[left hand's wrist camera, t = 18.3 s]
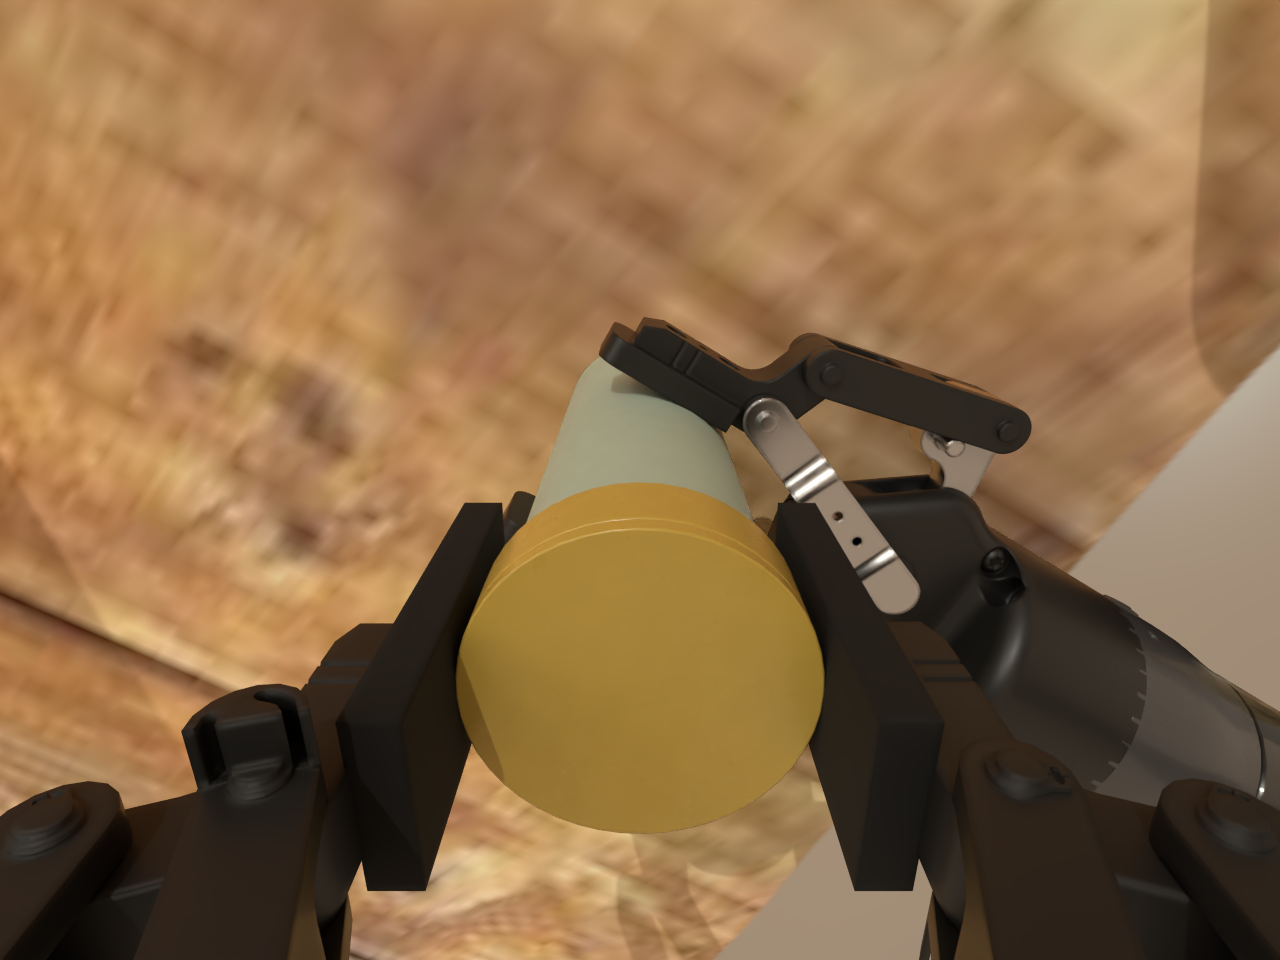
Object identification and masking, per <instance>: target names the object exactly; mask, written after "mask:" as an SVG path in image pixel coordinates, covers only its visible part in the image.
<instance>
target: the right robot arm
mask: <svg viewBox="0 0 1280 960" xmlns="http://www.w3.org/2000/svg"><path fill="white" fill-rule="evenodd" d="M599 355H600V357H601V358H602V359H603V360H604V361H606V362H607V363H608V364H610V365H611V366H613V367H615V368H616V369H618V370H620V371H621V372H623V373H625V374H626V375H628V376H630V377H632V378H633V379H635V380H637V381H638V382H640V383H642V384H643V385H645V386H647V387H649V388H650V389H652V390H654V391H655V392H657V393H659V394H660V395H662V396H664V397H666V398H667V399H669V400H671V401H672V402H674V403H676V404H678V405H679V406H681V407H683V408H685V409H687V410H689V411H690V412H692V413H694V414H695V415H697V416H698V417H700V418H701V419H703V420H705V421H706V422H708V423H710V424H712V425H713V426H715V427H717V428H718V429H720V430H722V431H723V432H725V433H726V432H727V430H728V429H729V427H730V426H731V425H733V426H735V427H736V428H738V429H740V430H742V431H743V432H745V434H746V435H747V437H748V438H749V439H750V441H751V442H752V443H753V444H754V446H755V447H756V448H757V450H758V451H759V452H760V453H761V455H762V456H763V457H764V459H765V460H766V461H767V462H768V464H769V465H770V466H771V468H772V469H773V470H774V471H775V473H776V474H777V475H778V476H779V478H780V479H781V480H782V482H783V483H784V484H785V486H786V487H787V489H788V490H789V492H790V494H789V496H788V497H787V498H786V500H785V501H784V503H816V505H817V506H818V508H819V510H820V512H821V513H822V515H823V517H824V518H825V520H826V522H827V523H828V525H829V527H830V528H831V530H832V532H833V534H834V535H835V537H836V539H837V540H838V542H839V544H840V545H841V547H842V549H843V550H844V552H845V554H846V556H847V557H848V559H849V561H850V562H851V564H852V566H853V567H854V569H855V571H856V572H857V574H858V576H859V578H860V579H861V581H862V583H863V584H864V586H865V588H866V589H867V591H868V593H869V594H870V596H871V598H872V600H873V601H874V603H875V605H876V606H877V608H878V610H879V611H880V613H881V615H882V616H883V618H884V620H885V621H920V622H922V623H923V624H925V625H926V626H927V627H929V628H930V629H932V630H933V631H934V632H936V633H937V634H939V635H940V636H941V637H943V638H944V639H945V640H946V641H947V642H948V644H949V645H950V647H951V648H952V649H953V651H954V652H955V654H956V655H957V657H958V658H959V659H960V664H963V665H964V666H965V668H966V669H967V671H968V672H969V674H970V675H971V676H972V681H973V682H976V683H977V685H978V686H979V688H980V689H981V691H982V692H983V693H984V695H985V696H986V698H987V699H988V700H989V702H990V703H991V705H992V706H993V708H994V709H995V710H996V712H997V713H998V715H999V716H1000V718H1001V719H1002V720H1003V722H1004V723H1005V725H1006V726H1007V727H1008V729H1009V730H1010V732H1011V733H1012V735H1013V736H1014V737H1015V739H1016V740H1017V741H1021V742H1024V743H1027V744H1031V745H1033V746H1035V747H1037V748H1039V749H1041V750H1043V751H1045V752H1047V753H1049V754H1051V755H1052V756H1054V757H1055V758H1057V759H1058V760H1059V761H1060V762H1061V763H1063V764H1064V765H1065V766H1066V767H1067V768H1068V769H1070V770H1071V771H1072V772H1073V774H1074V776H1075V777H1076V779H1077V780H1078V782H1079V783H1080V785H1081V786H1082V788H1083V789H1086V790H1089V791H1092V792H1096V793H1099V794H1103V795H1107V796H1111V797H1116V798H1120V799H1124V800H1129V801H1133V802H1137V803H1142V804H1146V805H1150V806H1155V807H1156V806H1157V804H1158V801H1159V798H1160V795H1161V792H1162V789H1164V788H1165V787H1166V786H1167V785H1169V784H1170V783H1171V782H1172V781H1176V780H1183V779H1191V778H1194V779H1200V780H1207V781H1213V782H1219V783H1221V784H1224V785H1227V786H1230V787H1232V788H1236V789H1238V790H1241V791H1244V792H1246V793H1248V794H1250V795H1252V796H1254V797H1255V798H1257V799H1259V800H1261V801H1263V802H1265V803H1266V804H1268V805H1270V806H1272V807H1274V808H1275V809H1276V810H1277V811H1279V812H1280V712H1279V711H1278V710H1276V709H1274V708H1273V707H1271V706H1269V705H1267V704H1266V703H1264V702H1262V701H1261V700H1259V699H1257V698H1256V697H1254V696H1253V695H1251V694H1249V693H1248V692H1246V691H1244V690H1243V689H1241V688H1239V687H1238V686H1236V685H1234V684H1233V683H1231V682H1229V681H1228V680H1226V679H1224V678H1223V677H1221V676H1219V675H1218V674H1216V673H1214V672H1213V671H1211V670H1210V669H1208V668H1207V667H1206V666H1205V665H1203V664H1202V663H1201V662H1200V661H1199V660H1198V659H1197V658H1196V657H1194V656H1193V655H1192V654H1191V653H1190V652H1189V651H1187V650H1186V649H1185V648H1184V647H1183V646H1181V645H1180V644H1179V643H1178V642H1176V641H1175V640H1174V639H1172V638H1171V637H1169V636H1168V635H1166V634H1165V633H1163V632H1162V631H1160V630H1159V629H1157V628H1156V627H1154V626H1153V625H1151V624H1149V623H1148V622H1146V621H1144V620H1143V619H1141V618H1140V617H1138V614H1136V613H1135V612H1134V611H1132V610H1131V608H1130V607H1129V606H1127V605H1125V604H1123V603H1122V602H1120V601H1118V600H1116V599H1114V598H1112V597H1109V596H1107V595H1102V594H1100V593H1098V592H1097V591H1095V590H1093V589H1092V588H1090V587H1088V586H1087V585H1085V584H1083V583H1082V582H1080V581H1079V580H1077V579H1075V578H1074V577H1072V576H1070V575H1069V574H1067V573H1065V572H1064V571H1062V570H1060V569H1059V568H1057V567H1056V566H1054V565H1052V564H1051V563H1049V562H1047V561H1046V560H1044V559H1042V558H1041V557H1039V556H1037V555H1036V554H1034V553H1032V552H1031V551H1029V550H1027V549H1026V548H1024V547H1023V546H1021V545H1019V544H1018V543H1016V542H1014V541H1013V540H1011V539H1009V538H1008V537H1006V536H1004V535H1003V534H1001V533H999V532H998V531H996V530H995V529H993V528H991V527H990V526H988V525H987V524H986V522H985V520H984V518H983V516H982V513H981V511H980V509H979V507H978V505H977V504H976V503H975V501H974V500H973V499H972V496H973V494H974V492H975V490H976V488H977V487H978V485H979V483H980V481H981V479H982V477H983V475H984V473H985V471H986V469H987V468H988V466H989V464H990V462H991V460H992V458H993V456H994V454H995V453H998V454H1007V453H1011V452H1014V451H1016V450H1017V449H1019V448H1020V447H1022V446H1023V445H1024V444H1025V442H1026V441H1027V440H1028V438H1029V436H1030V433H1031V421H1030V418H1029V417H1028V415H1027V414H1026V413H1025V412H1024V411H1022V410H1020V409H1018V408H1016V407H1015V406H1013V405H1011V404H1009V403H1007V402H1005V401H1003V400H1001V399H1000V398H998V397H996V396H994V395H992V394H990V393H988V392H987V391H985V390H983V389H981V388H979V387H977V386H974V385H971V384H968V383H965V382H962V381H959V380H956V379H953V378H950V377H947V376H944V375H941V374H938V373H935V372H932V371H929V370H926V369H922V368H919V367H916V366H913V365H910V364H907V363H904V362H901V361H898V360H895V359H892V358H889V357H886V356H883V355H880V354H877V353H874V352H871V351H868V350H865V349H862V348H859V347H856V346H853V345H850V344H847V343H843V342H840V341H837V340H834V339H831V338H828V337H825V336H822V335H819V334H816V333H806V334H803V335H801V336H799V337H797V338H796V339H795V340H794V341H793V342H792V343H791V345H790V347H789V349H788V351H787V352H786V353H784V354H783V355H782V356H781V357H779V358H778V359H777V360H775V361H774V362H773V363H771V364H770V365H768V366H766V367H764V368H761V369H755V370H750V369H745V368H742V367H740V366H738V365H736V364H735V363H733V362H731V361H730V360H728V359H726V358H725V357H723V356H722V355H720V354H718V353H717V352H715V351H713V350H712V349H710V348H708V347H707V346H705V345H704V344H702V343H700V342H699V341H697V340H695V339H694V338H692V337H690V336H689V335H687V334H686V333H683V332H682V331H681V330H679V329H677V328H676V327H674V326H672V325H671V324H669V323H668V322H666V321H664V320H658V319H652V318H646V317H644V318H643V319H642V321H641V323H640V324H639V326H638V328H637V330H636V331H633V330H631V329H630V328H628V327H626V326H624V325H622V324H620V323H617V322H614V324H613V325H612V327H611V329H610V331H609V332H608V334H607V336H606V338H605V339H604V341H603V343H602V345H601V348H600V351H599ZM824 399H828V400H831V401H834V402H837V403H840V404H844V405H847V406H850V407H853V408H856V409H859V410H862V411H866V412H869V413H872V414H875V415H878V416H881V417H884V418H888V419H891V420H894V421H897V422H900V423H903V424H906V425H910V427H909V437H910V440H911V442H912V443H913V444H914V445H915V446H916V447H917V448H918V449H919V450H920V451H922V452H923V453H924V454H925V455H926V456H927V457H929V458H930V460H931V464H932V467H931V472H930V475H914V476H902V477H890V478H878V479H866V480H854V481H842V480H841V479H840V477H839V476H838V475H837V473H836V472H835V471H834V469H833V468H832V467H831V465H830V464H829V462H828V461H827V460H826V458H825V457H824V456H823V454H822V453H821V452H820V450H819V449H818V448H817V446H816V445H815V444H814V442H813V441H812V440H811V438H810V437H809V436H808V434H807V433H806V432H805V430H804V429H803V428H802V426H801V425H800V424H799V422H798V421H797V419H798V418H800V417H801V416H802V415H804V414H805V413H807V412H808V411H809V410H811V409H812V408H813V407H815V406H816V405H817V404H819V403H820V402H821V401H823V400H824ZM534 500H535V496H534V495H532V494H529V493H527V492H523V491H518V492H516V493H515V494H514V496H513V498H512V499H511V501H510V503H509V505H508V506H507V508H506V510H505V512H504V514H503V523H504V536H505V544H507V542H508V541H509V540H510V539H511V538H512V537H513V536H514V534H515V533H516V532H517V531H518V530H519V529H520V528H521V527H522V526H524V525H525V524H526V522H527V519H528V517H529V514H530V511H531V508H532V506H533V503H534ZM776 524H777V512H776V515H775V517H774V520H773V522H772V525H771V528H770V530H769V533H768V535H767V536H768V538H769V539H770V540H771V541H772V542H773V543H774V545H775V537H776Z"/></svg>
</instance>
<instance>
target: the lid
mask: <svg viewBox="0 0 1280 960" xmlns="http://www.w3.org/2000/svg"><path fill="white" fill-rule="evenodd" d="M455 681H456V696H457V702H458V707H459V712H460V716H461V719H462V722H463V724H464V727H465V730H466V732H467V735H468V737H469V739H470V741H471V742H472V744H473V746H474V748H475V750H476V752H477V753H478V755H479V756H480V757H481V759H482V760H483V761H484V763H485V764H486V765H487V767H488V768H489V769H490V770H491V771H492V772H493V773H494V774H495V775H496V777H497V778H498V779H499V780H500V781H501V782H502V783H503V784H504V785H506V786H507V787H508V788H509V789H511V790H512V791H513V792H514V793H516V794H517V795H518V796H519V797H521V798H522V799H524V800H526V801H527V802H529V803H530V804H532V805H534V806H535V807H537V808H539V809H541V810H543V811H545V812H547V813H549V814H551V815H553V816H555V817H557V818H560V819H563V820H566V821H569V822H571V823H574V824H577V825H581V826H585V827H589V828H593V829H597V830H603V831H611V832H618V833H636V834H646V833H663V832H670V831H676V830H683V829H688V828H692V827H695V826H699V825H703V824H707V823H709V822H712V821H715V820H717V819H720V818H723V817H725V816H728V815H730V814H732V813H734V812H735V811H737V810H739V809H741V808H743V807H745V806H747V805H749V804H750V803H752V802H753V801H755V800H756V799H758V798H759V797H761V796H762V795H764V794H765V793H766V792H767V791H768V790H770V789H771V788H772V787H773V786H774V785H776V784H777V783H778V782H779V781H780V780H781V779H782V778H783V777H784V776H785V775H786V774H787V773H788V771H789V770H790V769H791V768H792V767H793V766H794V765H795V763H796V762H797V760H798V759H799V758H800V756H801V755H802V753H803V752H804V750H805V749H806V747H807V745H808V743H809V741H810V739H811V737H812V735H813V733H814V731H815V728H816V725H817V722H818V719H819V716H820V713H821V709H822V703H823V697H824V685H825V670H824V663H823V656H822V651H821V647H820V644H819V641H818V638H817V635H816V632H815V629H814V627H813V624H812V622H811V620H810V617H809V615H808V612H807V610H806V607H805V605H804V602H803V600H802V598H801V595H800V593H799V590H798V588H797V585H796V583H795V581H794V578H793V576H792V574H791V572H790V570H789V568H788V565H787V563H786V561H785V559H784V558H783V556H782V555H781V553H780V552H779V550H778V549H777V547H776V546H775V545H774V543H773V542H772V541H771V540H770V539H769V538H768V536H767V535H766V534H765V533H764V532H763V531H762V530H761V529H760V528H759V527H758V526H757V525H756V524H754V523H753V522H752V521H751V520H749V519H748V518H747V517H746V516H745V515H743V514H742V513H740V512H739V511H737V510H735V509H734V508H732V507H731V506H729V505H727V504H726V503H724V502H722V501H719V500H717V499H715V498H713V497H710V496H708V495H706V494H703V493H700V492H697V491H694V490H690V489H687V488H684V487H678V486H673V485H667V484H661V483H641V482H635V483H622V484H612V485H607V486H602V487H597V488H592V489H589V490H586V491H583V492H580V493H577V494H574V495H571V496H569V497H567V498H565V499H563V500H561V501H559V502H557V503H555V504H553V505H551V506H549V507H548V508H546V509H545V510H543V511H542V512H540V513H539V514H537V515H536V516H534V517H533V518H532V519H531V520H529V521H528V522H527V523H526V524H525V525H524V526H522V527H521V528H520V529H519V530H518V531H517V532H516V533H515V534H514V536H513V537H512V538H511V539H510V540H509V541H508V542H507V544H506V545H505V546H504V548H503V549H502V551H501V552H500V554H499V555H498V557H497V558H496V560H495V561H494V563H493V566H492V568H491V570H490V572H489V575H488V577H487V579H486V581H485V584H484V586H483V589H482V591H481V593H480V596H479V598H478V601H477V603H476V606H475V608H474V610H473V613H472V615H471V618H470V620H469V623H468V625H467V627H466V630H465V632H464V635H463V638H462V641H461V645H460V649H459V652H458V656H457V665H456V674H455Z"/></svg>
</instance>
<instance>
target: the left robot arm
mask: <svg viewBox="0 0 1280 960" xmlns="http://www.w3.org/2000/svg"><path fill="white" fill-rule="evenodd" d="M504 546H505V536H504V523H503V510H502V503H464V505H463V507H462V508H461V510H460V512H459V513H458V515H457V517H456V519H455V520H454V522H453V524H452V525H451V527H450V529H449V530H448V532H447V534H446V535H445V537H444V539H443V541H442V542H441V544H440V546H439V547H438V549H437V551H436V552H435V554H434V556H433V557H432V559H431V561H430V563H429V564H428V566H427V568H426V569H425V571H424V573H423V574H422V576H421V578H420V579H419V581H418V583H417V585H416V586H415V588H414V590H413V591H412V593H411V595H410V596H409V598H408V600H407V601H406V603H405V605H404V607H403V608H402V610H401V612H400V613H399V615H398V617H397V618H396V620H395V622H394V623H393V624H359V625H357V626H356V627H355V628H353V629H352V630H351V631H349V632H348V633H346V634H345V635H344V636H342V637H341V638H339V639H338V640H337V641H335V642H334V644H333V645H332V647H331V648H330V650H329V651H328V652H327V654H326V655H325V657H324V658H323V660H322V661H321V665H320V666H318V667H317V668H316V670H315V671H314V672H313V674H312V675H311V677H310V678H309V682H308V684H305V685H304V687H303V688H302V690H301V691H300V690H299V689H298V688H296V687H291V686H287V685H283V684H268V685H256V686H252V687H249V688H245V689H241V690H237V691H234V692H232V693H229V694H227V695H225V696H223V697H221V698H219V699H217V700H214V701H212V702H211V703H209V704H208V705H207V706H205V707H204V708H203V709H201V710H200V711H199V712H197V713H196V714H195V715H193V716H192V717H191V719H190V720H189V721H188V723H187V724H186V726H185V727H184V728H183V730H182V731H181V732H182V736H183V739H184V743H185V746H186V749H187V753H188V756H189V760H190V763H191V767H192V770H193V774H194V777H195V780H196V784H197V787H198V789H197V792H194V793H191V794H188V795H184V796H181V797H177V798H173V799H168V800H164V801H160V802H155V803H151V804H147V805H143V806H138V807H134V808H130V809H124V806H123V803H122V800H121V797H120V794H119V792H118V791H116V790H115V789H114V788H113V787H111V786H110V785H109V784H106V783H99V782H91V781H87V782H80V783H74V784H68V785H62V786H60V787H57V788H54V789H51V790H49V791H46V792H43V793H40V794H37V795H35V796H33V797H31V798H29V799H28V800H26V801H24V802H22V803H20V804H19V805H17V806H15V807H13V808H11V809H10V810H8V811H7V812H5V813H4V814H3V815H2V816H0V960H349V953H350V942H351V931H352V913H351V906H350V901H349V896H348V891H349V889H350V887H351V884H352V882H353V879H354V877H355V875H356V872H357V870H358V868H359V865H360V863H361V861H362V865H363V870H364V875H365V881H366V886H367V891H426V887H427V884H428V881H429V878H430V875H431V871H432V868H433V865H434V862H435V859H436V856H437V852H438V849H439V846H440V843H441V840H442V836H443V833H444V830H445V827H446V824H447V820H448V817H449V814H450V811H451V808H452V804H453V801H454V798H455V795H456V792H457V789H458V785H459V782H460V779H461V776H462V773H463V769H464V766H465V763H466V760H467V757H468V753H469V750H470V747H471V744H472V742H471V741H470V739H469V737H468V735H467V732H466V730H465V727H464V724H463V722H462V719H461V716H460V712H459V707H458V702H457V696H456V681H455V674H456V665H457V656H458V652H459V649H460V645H461V641H462V638H463V635H464V632H465V630H466V627H467V625H468V623H469V620H470V618H471V615H472V613H473V610H474V608H475V606H476V603H477V601H478V598H479V596H480V593H481V591H482V589H483V586H484V584H485V581H486V579H487V577H488V575H489V572H490V570H491V568H492V566H493V563H494V561H495V560H496V558H497V557H498V555H499V554H500V552H501V551H502V549H503V548H504ZM775 546H776V547H777V549H778V550H779V552H780V553H781V555H782V556H783V558H784V559H785V561H786V563H787V565H788V568H789V570H790V572H791V574H792V576H793V578H794V581H795V583H796V585H797V588H798V590H799V593H800V595H801V598H802V600H803V602H804V605H805V607H806V610H807V612H808V615H809V617H810V620H811V622H812V624H813V627H814V629H815V632H816V635H817V638H818V641H819V644H820V647H821V651H822V656H823V663H824V670H825V685H824V697H823V703H822V709H821V713H820V716H819V719H818V722H817V725H816V728H815V731H814V733H813V735H812V737H811V739H810V741H809V747H810V750H811V753H812V756H813V759H814V763H815V766H816V769H817V772H818V775H819V779H820V782H821V785H822V788H823V791H824V795H825V798H826V801H827V804H828V807H829V810H830V814H831V817H832V820H833V823H834V826H835V830H836V833H837V836H838V839H839V842H840V846H841V849H842V852H843V855H844V858H845V862H846V865H847V868H848V871H849V874H850V877H851V881H852V884H853V887H854V890H855V891H913V886H914V881H915V876H916V871H917V866H918V860H919V859H920V861H921V864H922V866H923V869H924V871H925V873H926V876H927V878H928V880H929V883H930V885H931V887H932V890H933V891H932V896H931V901H930V906H929V911H928V916H927V920H926V925H925V930H924V935H923V940H922V945H921V951H920V957H919V960H929V958H930V953H931V960H1280V812H1279V811H1277V810H1276V809H1275V808H1274V807H1272V806H1270V805H1268V804H1266V803H1265V802H1263V801H1261V800H1259V799H1257V798H1255V797H1254V796H1252V795H1250V794H1248V793H1246V792H1244V791H1241V790H1238V789H1236V788H1232V787H1230V786H1227V785H1224V784H1221V783H1219V782H1213V781H1207V780H1200V779H1194V778H1191V779H1183V780H1176V781H1172V782H1171V783H1170V784H1169V785H1167V786H1166V787H1165V788H1164V789H1162V792H1161V795H1160V798H1159V801H1158V804H1157V806H1156V807H1155V806H1150V805H1146V804H1142V803H1137V802H1133V801H1129V800H1124V799H1120V798H1116V797H1111V796H1107V795H1103V794H1099V793H1096V792H1092V791H1089V790H1086V789H1083V788H1082V786H1081V785H1080V783H1079V782H1078V780H1077V779H1076V777H1075V776H1074V774H1073V772H1072V771H1071V770H1070V769H1068V768H1067V767H1066V766H1065V765H1064V764H1063V763H1061V762H1060V761H1059V760H1058V759H1057V758H1055V757H1054V756H1052V755H1051V754H1049V753H1047V752H1045V751H1043V750H1041V749H1039V748H1037V747H1035V746H1033V745H1031V744H1027V743H1024V742H1021V741H1017V740H1016V739H1015V737H1014V736H1013V735H1012V733H1011V732H1010V730H1009V729H1008V727H1007V726H1006V725H1005V723H1004V722H1003V720H1002V719H1001V718H1000V716H999V715H998V713H997V712H996V710H995V709H994V708H993V706H992V705H991V703H990V702H989V700H988V699H987V698H986V696H985V695H984V693H983V692H982V691H981V689H980V688H979V686H978V685H977V683H976V682H973V681H972V676H971V675H970V674H969V672H968V671H967V669H966V668H965V666H964V665H963V664H960V659H959V658H958V657H957V655H956V654H955V652H954V651H953V649H952V648H951V647H950V645H949V644H948V642H947V641H946V640H945V639H944V638H943V637H941V636H940V635H939V634H937V633H936V632H934V631H933V630H932V629H930V628H929V627H927V626H926V625H925V624H923V623H922V622H920V621H885V620H884V618H883V616H882V615H881V613H880V611H879V610H878V608H877V606H876V605H875V603H874V601H873V600H872V598H871V596H870V594H869V593H868V591H867V589H866V588H865V586H864V584H863V583H862V581H861V579H860V578H859V576H858V574H857V572H856V571H855V569H854V567H853V566H852V564H851V562H850V561H849V559H848V557H847V556H846V554H845V552H844V550H843V549H842V547H841V545H840V544H839V542H838V540H837V539H836V537H835V535H834V534H833V532H832V530H831V528H830V527H829V525H828V523H827V522H826V520H825V518H824V517H823V515H822V513H821V512H820V510H819V508H818V506H817V505H816V503H778V511H777V524H776V537H775Z"/></svg>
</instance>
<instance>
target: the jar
mask: <svg viewBox="0 0 1280 960" xmlns="http://www.w3.org/2000/svg"><path fill="white" fill-rule="evenodd" d="M635 482H641V483H661V484H667V485H673V486H678V487H684V488H687V489H690V490H694V491H697V492H700V493H703V494H706V495H708V496H710V497H713V498H715V499H717V500H719V501H722V502H724V503H726V504H727V505H729V506H731V507H732V508H734V509H735V510H737V511H739V512H740V513H742V514H743V515H745V516H746V517H747V518H748V519H749V520H751V521H752V522H753V523H754V521H753V518H752V515H751V512H750V510H749V507H748V504H747V501H746V498H745V496H744V493H743V490H742V487H741V485H740V482H739V479H738V476H737V473H736V471H735V468H734V465H733V462H732V460H731V457H730V454H729V451H728V448H727V446H726V443H725V440H724V437H723V435H722V432H721V430H720V429H718V428H717V427H715V426H713V425H712V424H710V423H708V422H706V421H705V420H703V419H701V418H700V417H698V416H697V415H695V414H694V413H692V412H690V411H689V410H687V409H685V408H683V407H681V406H679V405H678V404H676V403H674V402H672V401H671V400H669V399H667V398H666V397H664V396H662V395H660V394H659V393H657V392H655V391H654V390H652V389H650V388H649V387H647V386H645V385H643V384H642V383H640V382H638V381H637V380H635V379H633V378H632V377H630V376H628V375H626V374H625V373H623V372H621V371H620V370H618V369H616V368H615V367H613V366H611V365H610V364H608V363H607V362H606V361H604V360H603V359H602V358H601V357H599V358H597V359H596V360H595V361H594V362H592V363H591V364H590V365H589V366H588V368H587V369H586V370H585V371H584V372H583V374H582V375H581V377H580V378H579V380H578V382H577V384H576V386H575V389H574V392H573V395H572V397H571V400H570V403H569V406H568V408H567V411H566V414H565V417H564V420H563V422H562V425H561V428H560V431H559V433H558V436H557V439H556V442H555V445H554V447H553V450H552V453H551V456H550V458H549V461H548V464H547V467H546V470H545V472H544V475H543V478H542V481H541V483H540V486H539V489H538V492H537V494H536V497H535V500H534V503H533V506H532V508H531V511H530V514H529V517H528V519H527V522H528V521H529V520H531V519H532V518H533V517H534V516H536V515H537V514H539V513H540V512H542V511H543V510H545V509H546V508H548V507H549V506H551V505H553V504H555V503H557V502H559V501H561V500H563V499H565V498H567V497H569V496H571V495H574V494H577V493H580V492H583V491H586V490H589V489H592V488H597V487H602V486H607V485H612V484H622V483H635ZM527 522H526V523H527ZM754 524H755V523H754Z"/></svg>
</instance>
